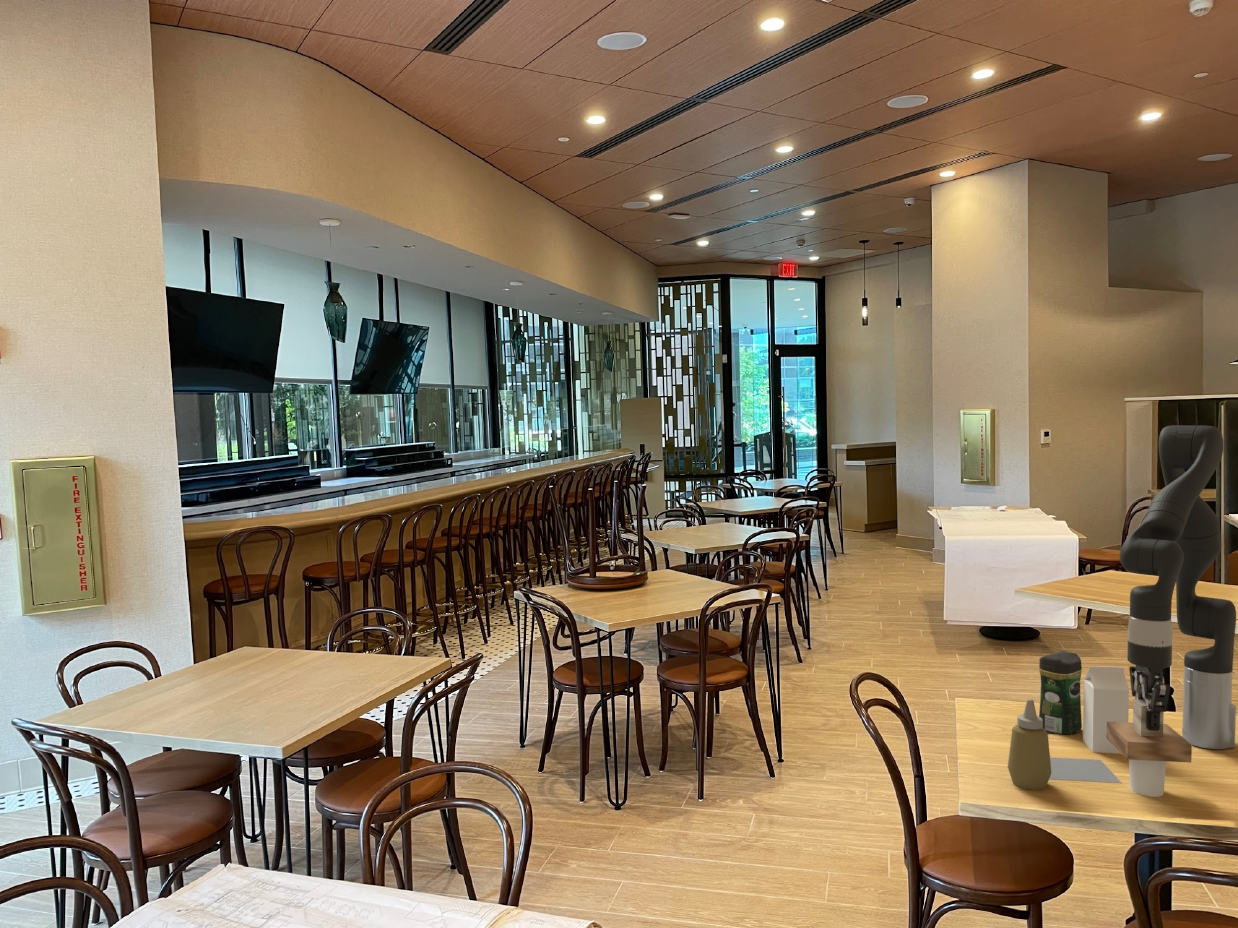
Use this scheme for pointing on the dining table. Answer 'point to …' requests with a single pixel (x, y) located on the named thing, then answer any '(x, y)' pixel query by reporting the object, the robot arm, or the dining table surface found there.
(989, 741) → the dining table surface
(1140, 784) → the white cup
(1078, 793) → the dining table surface
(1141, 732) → the tan plate with knob
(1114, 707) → the milk carton
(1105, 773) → the rubber mat
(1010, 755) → the squeeze bottle
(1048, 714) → the coffee jar
